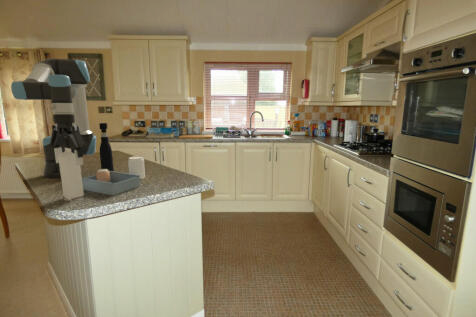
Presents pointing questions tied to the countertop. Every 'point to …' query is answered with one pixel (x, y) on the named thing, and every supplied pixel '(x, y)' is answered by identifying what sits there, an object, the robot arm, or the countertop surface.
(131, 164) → the beverage can
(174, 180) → the countertop surface
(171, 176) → the countertop surface
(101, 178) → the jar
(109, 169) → the wine bottle
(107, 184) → the tote
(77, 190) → the milk
